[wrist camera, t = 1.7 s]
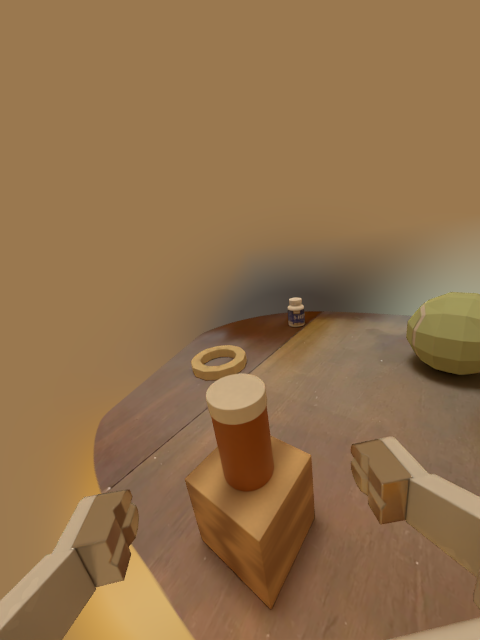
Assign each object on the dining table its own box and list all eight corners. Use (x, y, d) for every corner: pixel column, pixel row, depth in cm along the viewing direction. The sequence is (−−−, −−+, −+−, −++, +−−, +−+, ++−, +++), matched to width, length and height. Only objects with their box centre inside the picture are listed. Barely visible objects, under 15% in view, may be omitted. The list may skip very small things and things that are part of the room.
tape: (182, 371, 63) (180, 363, 62) (219, 349, 73) (218, 342, 72) (220, 386, 54) (218, 376, 54) (256, 359, 64) (255, 350, 63)
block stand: (201, 539, 27) (184, 478, 24) (251, 475, 33) (242, 421, 30) (271, 610, 21) (259, 542, 18) (315, 516, 27) (311, 455, 24)
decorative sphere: (395, 373, 50) (400, 302, 45) (417, 345, 59) (423, 284, 54) (501, 402, 39) (523, 312, 34) (508, 363, 48) (526, 287, 43)
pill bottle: (294, 328, 80) (292, 302, 77) (285, 324, 84) (283, 299, 82) (308, 324, 81) (306, 298, 79) (298, 320, 86) (297, 296, 83)
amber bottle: (211, 473, 24) (193, 396, 21) (244, 438, 28) (232, 368, 25) (253, 504, 21) (239, 418, 18) (285, 459, 24) (276, 382, 22)
